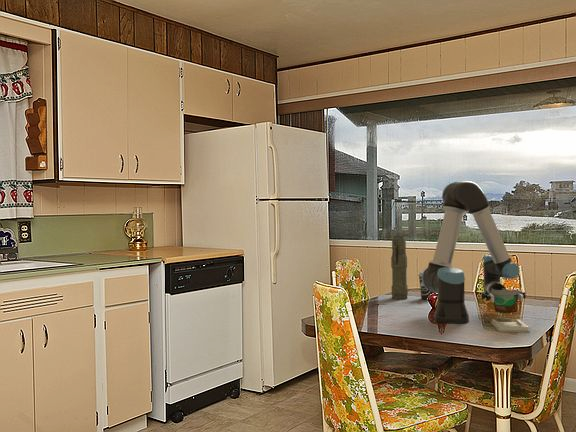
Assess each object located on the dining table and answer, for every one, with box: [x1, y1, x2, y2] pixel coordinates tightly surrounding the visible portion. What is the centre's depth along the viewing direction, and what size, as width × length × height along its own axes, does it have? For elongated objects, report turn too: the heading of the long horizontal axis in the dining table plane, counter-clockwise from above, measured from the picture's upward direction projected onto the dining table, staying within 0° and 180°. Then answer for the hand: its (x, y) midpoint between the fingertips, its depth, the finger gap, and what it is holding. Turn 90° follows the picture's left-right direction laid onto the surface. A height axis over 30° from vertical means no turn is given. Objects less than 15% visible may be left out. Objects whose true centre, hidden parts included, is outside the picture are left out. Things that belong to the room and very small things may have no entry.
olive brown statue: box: [390, 235, 409, 301], centre depth 328 cm, size 9×12×35 cm
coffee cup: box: [418, 270, 435, 301], centre depth 325 cm, size 10×10×15 cm
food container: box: [491, 288, 520, 314], centre depth 257 cm, size 12×6×10 cm, turn 53°
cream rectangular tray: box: [490, 319, 530, 333], centre depth 249 cm, size 12×16×2 cm
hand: (507, 298), depth 254 cm, fingers closed on food container, 11 cm apart
